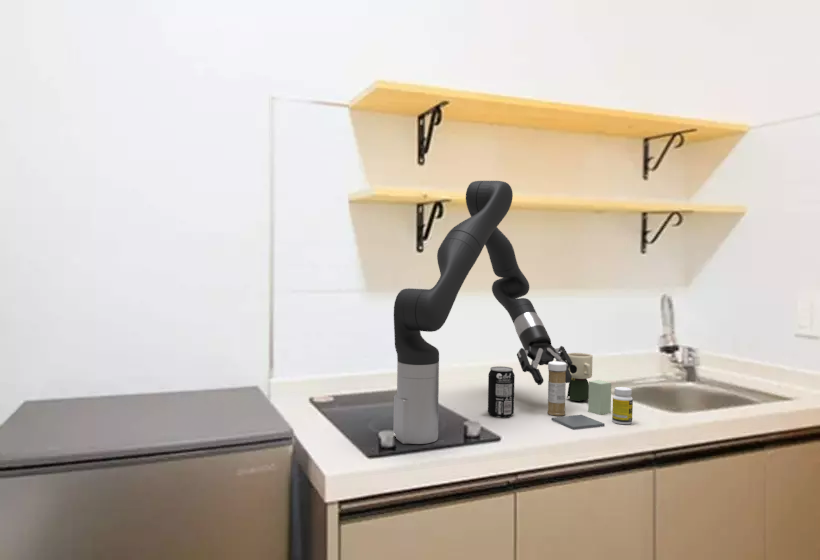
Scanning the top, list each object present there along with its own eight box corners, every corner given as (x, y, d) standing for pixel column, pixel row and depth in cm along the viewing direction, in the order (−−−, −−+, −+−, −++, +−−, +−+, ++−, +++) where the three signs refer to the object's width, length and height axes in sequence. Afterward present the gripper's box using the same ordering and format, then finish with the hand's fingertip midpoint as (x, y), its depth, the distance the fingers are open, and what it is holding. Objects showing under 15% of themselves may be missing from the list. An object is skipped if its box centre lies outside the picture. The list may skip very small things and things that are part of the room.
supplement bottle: (631, 425, 155) (633, 391, 155) (611, 423, 157) (612, 389, 157) (632, 420, 160) (633, 387, 159) (612, 418, 161) (613, 385, 161)
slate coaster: (573, 429, 151) (573, 427, 151) (551, 419, 160) (551, 417, 160) (604, 426, 155) (604, 423, 155) (581, 416, 163) (581, 414, 163)
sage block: (599, 414, 165) (600, 384, 165) (588, 411, 169) (588, 381, 168) (610, 413, 167) (611, 382, 167) (598, 409, 171) (599, 379, 170)
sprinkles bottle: (562, 411, 168) (563, 360, 167) (567, 416, 163) (568, 364, 163) (545, 411, 168) (546, 360, 167) (549, 416, 163) (550, 363, 162)
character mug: (557, 396, 186) (558, 351, 185) (580, 395, 187) (581, 351, 187) (576, 405, 175) (577, 358, 174) (600, 404, 177) (601, 357, 176)
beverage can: (496, 410, 169) (497, 365, 168) (518, 414, 164) (519, 368, 164) (482, 415, 164) (483, 368, 163) (505, 419, 159) (506, 371, 159)
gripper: (514, 324, 171) (537, 375, 160) (559, 323, 176) (584, 372, 166) (503, 342, 176) (525, 392, 166) (548, 339, 181) (571, 388, 171)
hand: (555, 382), depth 166 cm, fingers open, 8 cm apart
